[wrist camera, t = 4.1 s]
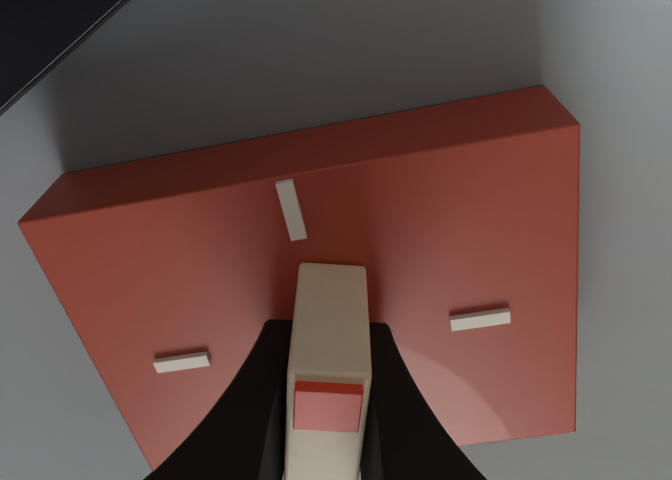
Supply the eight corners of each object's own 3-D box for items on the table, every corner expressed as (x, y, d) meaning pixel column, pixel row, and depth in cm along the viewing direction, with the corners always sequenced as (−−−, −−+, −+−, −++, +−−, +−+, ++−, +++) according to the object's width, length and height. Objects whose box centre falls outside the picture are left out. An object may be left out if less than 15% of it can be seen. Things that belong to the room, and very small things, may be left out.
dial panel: (177, 417, 20) (156, 488, 18) (61, 173, 15) (11, 226, 13) (549, 368, 18) (578, 437, 16) (544, 84, 14) (583, 125, 12)
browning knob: (349, 408, 16) (351, 543, 13) (293, 405, 16) (280, 540, 13) (366, 264, 14) (373, 386, 10) (299, 260, 13) (285, 381, 10)
